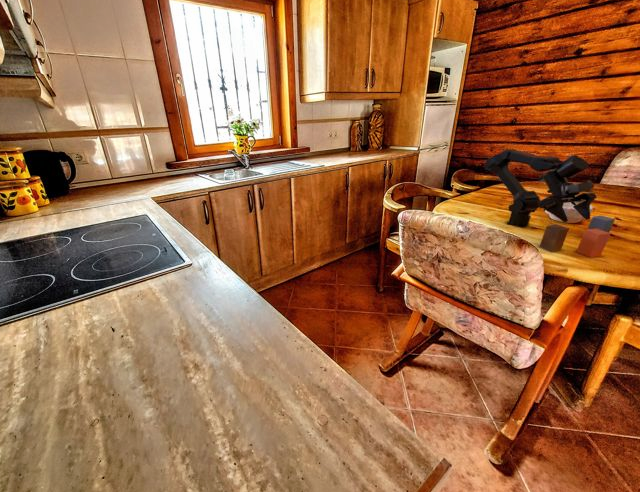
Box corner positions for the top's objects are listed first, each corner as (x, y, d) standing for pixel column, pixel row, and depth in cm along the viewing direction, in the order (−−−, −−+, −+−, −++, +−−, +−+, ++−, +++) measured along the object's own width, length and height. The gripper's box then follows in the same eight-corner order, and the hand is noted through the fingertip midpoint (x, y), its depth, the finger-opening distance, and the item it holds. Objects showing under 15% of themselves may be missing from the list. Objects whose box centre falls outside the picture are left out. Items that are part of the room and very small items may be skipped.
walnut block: (539, 247, 108) (546, 225, 104) (547, 245, 109) (555, 224, 105) (552, 252, 104) (560, 230, 100) (560, 250, 105) (569, 228, 101)
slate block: (583, 237, 113) (592, 216, 109) (591, 235, 114) (600, 215, 110) (597, 241, 109) (607, 220, 105) (605, 240, 110) (615, 219, 106)
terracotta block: (575, 251, 103) (585, 229, 99) (586, 250, 103) (596, 228, 100) (589, 257, 99) (599, 234, 95) (600, 256, 99) (611, 233, 96)
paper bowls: (551, 224, 126) (557, 207, 123) (537, 213, 139) (542, 197, 136) (594, 227, 121) (602, 210, 118) (575, 215, 134) (582, 199, 131)
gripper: (555, 175, 101) (576, 213, 95) (601, 171, 102) (624, 208, 97) (529, 190, 111) (547, 225, 105) (571, 186, 113) (590, 221, 107)
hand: (577, 220), depth 103 cm, fingers open, 9 cm apart
